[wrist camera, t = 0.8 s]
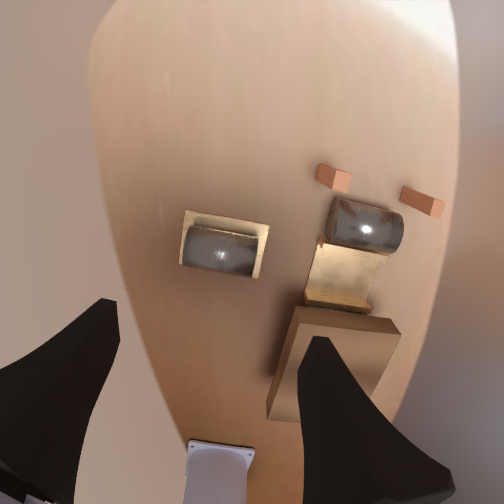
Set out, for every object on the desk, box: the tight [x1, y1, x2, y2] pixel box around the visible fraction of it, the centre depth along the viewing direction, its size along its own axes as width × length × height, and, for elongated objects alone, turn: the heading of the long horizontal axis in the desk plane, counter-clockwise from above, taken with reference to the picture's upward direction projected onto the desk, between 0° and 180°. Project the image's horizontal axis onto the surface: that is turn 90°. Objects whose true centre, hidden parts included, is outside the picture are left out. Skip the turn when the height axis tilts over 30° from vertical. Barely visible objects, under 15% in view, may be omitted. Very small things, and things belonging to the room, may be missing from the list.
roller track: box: [179, 198, 404, 316], centre depth 25 cm, size 19×16×3 cm
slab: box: [266, 306, 401, 423], centre depth 24 cm, size 10×8×2 cm
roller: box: [182, 225, 259, 278], centre depth 23 cm, size 5×3×3 cm, turn 79°
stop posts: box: [316, 164, 445, 219], centre depth 21 cm, size 1×8×5 cm, turn 79°
